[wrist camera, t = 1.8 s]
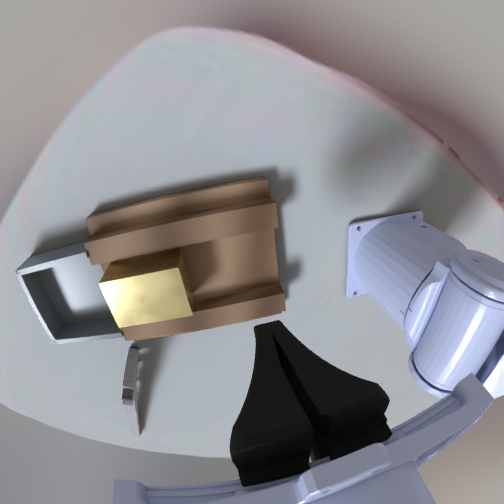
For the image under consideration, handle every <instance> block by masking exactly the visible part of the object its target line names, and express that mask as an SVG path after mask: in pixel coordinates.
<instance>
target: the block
mask: <svg viewBox="0 0 504 504" xmlns="http://www.w3.org/2000/svg"><path fill="white" fill-rule="evenodd" d="M99 286H100V288H101V290H102V293H103V295H104V297H105V299H106V302H107V304H108V306H109V308H110V310H111V312H112V315H113V317H114V319H115V321H116V323H117V325H118V327H119V328H121V327H127V326H134V325H141V324H147V323H153V322H159V321H165V320H171V319H176V318H182V317H188V316H193V293H192V289H191V286H190V282H189V279H188V275H187V271H186V268H185V264H184V260H183V256H182V253H181V249H179V250H174V251H169V252H164V253H159V254H155V255H150V256H145V257H140V258H136V259H131V260H126V261H122V262H117V263H113V264H109V266H108V268H107V269H106V271H105V273H104V275H103V276H102V278H101V280H100V282H99Z"/></svg>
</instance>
